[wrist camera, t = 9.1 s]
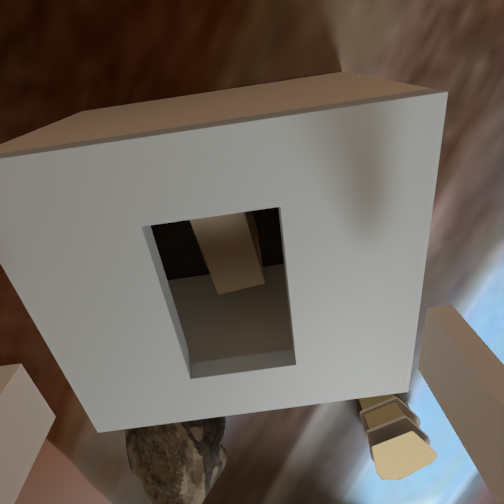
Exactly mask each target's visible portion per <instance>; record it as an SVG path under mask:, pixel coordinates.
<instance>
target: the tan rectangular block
mask: <svg viewBox="0 0 504 504" xmlns="http://www.w3.org/2000/svg"><path fill="white" fill-rule="evenodd" d="M190 222H191V225H192V228H193V230H194V233H195V236H196V238H197V241H198V243H199V246H200V249H201V251H202V254H203V257H204V259H205V262H206V264H207V267H208V270H209V272H210V275H211V278H212V280H213V283H214V285H215V288H216V291H217V293H218V295H219V294H223V293H228V292H232V291H236V290H240V289H244V288H248V287H253V286H257V285H261V284H265V281H264V274H263V266H262V259H261V252H260V245H259V238H258V231H257V227H256V223H255V220H254V216H253V213H252V211H247V212H240V213H233V214H226V215H220V216H213V217H206V218H199V219H192V220H190Z"/></svg>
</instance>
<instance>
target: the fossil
mask: <svg viewBox="0 0 504 504" xmlns="http://www.w3.org/2000/svg"><path fill="white" fill-rule="evenodd" d="M225 417H226V416H222V417H214V418H207V419H199V420H192V421H184V422H176V423H169V424H161V425H154V426H146V427H138V428H131V429H126V449H127V455H128V459H129V464H130V468H131V470H132V472H133V473H134V474H135V475H137V476H138V477H139V478H140V479H141V481H142V482H143V486H144V489H145V491H146V493H147V494H148V496H149V499H150V500H151V501H152V503H153V504H202V503H203V501H204V500H205V498H206V496H207V495H208V493H209V491H210V490H211V488H212V487H213V485H214V483H215V482H216V480H217V479H218V477H219V475H220V474H221V473H222V471H223V470H224V467H225V465H226V462H227V458H226V450H225V449H223V445H222V438H223V434H224V429H225V422H226V421H225Z"/></svg>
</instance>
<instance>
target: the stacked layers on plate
mask: <svg viewBox="0 0 504 504" xmlns="http://www.w3.org/2000/svg"><path fill="white" fill-rule="evenodd" d="M359 401H360V404H361V407H362V411H360V412H359V413H360V417H361V422H362V427H363V432H364V436H365V440H366V441H367V443H368V444H369V448H370V453H371V458H372V460H373V461H374V463H375V466H376V472H377V474H378V475H379V476H380V478H381V479H382V480H400V479H403V478H405V477H406V476H408V475H410V474H412V473H414V472H416V471H417V470H419V469H421V468H423V467H425V466H427V465H428V464H430V463H432V462H433V461H434V460H435V459H436V456H437V454H436V452H435V451H434V450H433V449H432V448H431V447H430V446H429V444H430V440H429V438H428V436H427V435H426V434H425V433H424V432H423V431H422V430H421V429H420V428H419V426H420V420H419V418H418V416H417V415H416V414H414V413H413V412H412V411H411V410H410V408H409V406H408V404H406V403H405V402H402V401H401V400H400V399H399V398H398V397H396V396H395V395H394V394H389V395H382V396H374V397H366V398H359Z"/></svg>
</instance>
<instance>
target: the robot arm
mask: <svg viewBox="0 0 504 504" xmlns="http://www.w3.org/2000/svg"><path fill="white" fill-rule="evenodd" d="M418 369H419V371H420V372H421V374H422V376H423V378H424V379H425V381H426V383H427V384H428V386H429V388H430V389H431V391H432V393H433V395H434V396H435V398H436V400H437V401H438V403H439V405H440V406H441V408H442V410H443V412H444V413H445V415H446V417H447V418H448V420H449V422H450V423H451V425H452V427H453V429H454V430H455V432H456V434H457V435H458V437H459V439H460V440H461V442H462V444H463V446H464V447H465V449H466V451H467V452H468V454H469V456H470V457H471V459H472V461H473V463H474V464H475V466H476V468H477V469H478V471H479V473H480V474H481V476H482V478H483V480H484V481H485V483H486V485H487V486H488V488H489V490H490V491H491V493H492V495H493V497H494V498H495V500H496V502H497V503H498V504H504V365H503V364H502V362H501V361H500V360H499V359H498V358H497V357H496V356H495V354H494V353H493V352H492V351H491V350H490V349H489V347H488V346H487V345H486V344H485V343H484V342H483V341H482V339H481V338H480V337H479V336H478V335H477V334H476V332H475V331H474V330H473V329H472V328H471V327H470V326H469V324H468V323H467V322H466V321H465V320H464V319H463V317H462V316H461V315H460V314H459V313H458V312H457V311H456V309H455V308H454V307H453V306H452V305H445V306H438V307H431V308H427V312H426V319H425V326H424V333H423V340H422V347H421V353H420V360H419V367H418ZM55 418H56V416H55V415H54V413H53V412H52V410H51V409H50V407H49V406H48V404H47V403H46V401H45V399H44V398H43V396H42V395H41V393H40V392H39V390H38V389H37V387H36V386H35V384H34V383H33V381H32V379H31V378H30V376H29V375H28V373H27V372H26V370H25V369H24V367H23V366H22V364H13V365H6V366H0V504H14V503H15V501H16V499H17V497H18V495H19V493H20V490H21V488H22V486H23V484H24V482H25V480H26V478H27V476H28V474H29V472H30V470H31V468H32V466H33V463H34V461H35V459H36V457H37V455H38V453H39V451H40V449H41V447H42V445H43V442H44V441H45V438H46V436H47V434H48V432H49V430H50V428H51V426H52V424H53V422H54V420H55Z"/></svg>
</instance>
